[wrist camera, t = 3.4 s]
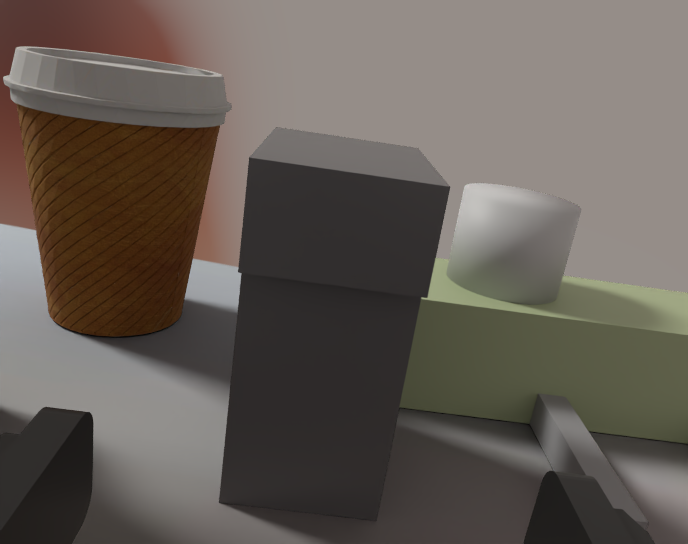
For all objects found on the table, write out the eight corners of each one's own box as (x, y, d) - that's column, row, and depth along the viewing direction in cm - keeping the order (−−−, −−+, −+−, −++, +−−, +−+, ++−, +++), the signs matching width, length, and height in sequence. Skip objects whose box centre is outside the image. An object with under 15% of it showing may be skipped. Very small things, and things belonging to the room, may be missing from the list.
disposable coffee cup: (198, 364, 27) (220, 83, 24) (-30, 342, 26) (-46, 43, 23) (224, 287, 36) (243, 73, 32) (54, 267, 35) (53, 45, 31)
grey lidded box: (213, 520, 19) (249, 157, 15) (246, 401, 25) (276, 127, 22) (377, 539, 19) (450, 186, 15) (368, 417, 25) (417, 148, 22)
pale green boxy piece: (393, 533, 19) (451, 259, 16) (372, 343, 32) (402, 170, 29) (879, 588, 20) (1017, 338, 17) (671, 382, 33) (730, 218, 30)
